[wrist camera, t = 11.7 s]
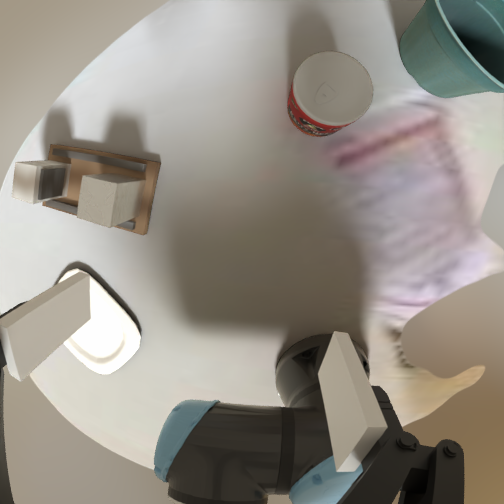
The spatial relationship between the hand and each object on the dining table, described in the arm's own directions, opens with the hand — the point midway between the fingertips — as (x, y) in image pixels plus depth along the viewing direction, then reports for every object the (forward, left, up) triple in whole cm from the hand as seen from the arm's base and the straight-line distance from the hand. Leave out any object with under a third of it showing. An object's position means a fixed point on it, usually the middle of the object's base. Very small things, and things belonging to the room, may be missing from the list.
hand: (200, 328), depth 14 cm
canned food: (+18, -5, -26) cm, 31 cm away
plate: (-23, +22, -26) cm, 41 cm away
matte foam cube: (+1, +17, -24) cm, 29 cm away
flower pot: (+33, -20, -26) cm, 46 cm away
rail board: (+1, +23, -25) cm, 34 cm away
